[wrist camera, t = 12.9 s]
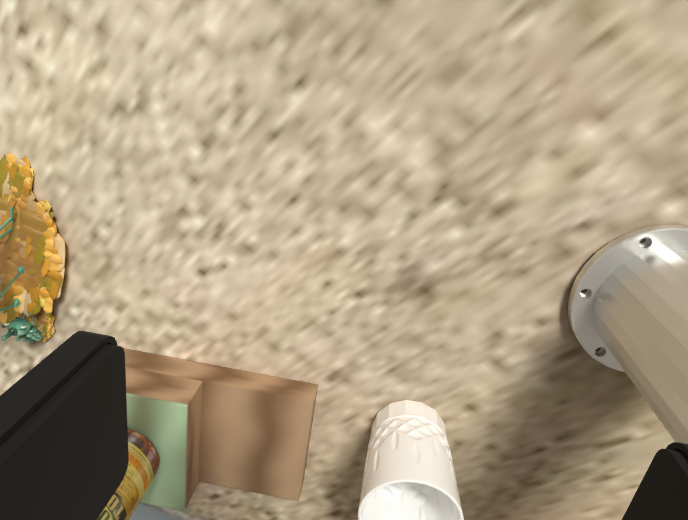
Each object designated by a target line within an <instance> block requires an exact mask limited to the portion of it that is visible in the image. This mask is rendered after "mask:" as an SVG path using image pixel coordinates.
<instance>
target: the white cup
mask: <svg viewBox="0 0 688 520" xmlns="http://www.w3.org/2000/svg"><path fill="white" fill-rule="evenodd" d="M358 520H464V517H463V512H462V507H461V502H460V497H459V491H458V486H457V480H456V475H455V470H454V465H453V461H452V456H451V451H450V448H449V445H448V442H447V438H446V432H445V426H444V422H443V420H442V419H441V418H440V416H439V415H438V413H437V412H436V410H434V409H433V408H431V407H429V406H427V405H426V404H424V403H422V402H417V401H410V400H402V401H398V402H394V403H390V404H388V405H387V406H386V407H384V408H383V409H381V410H380V411H379V412H378V413H377V415H376V417H375V419H374V422H373V424H372V429H371V437H370V441H369V445H368V450H367V457H366V462H365V468H364V475H363V482H362V489H361V496H360V503H359V509H358Z"/></svg>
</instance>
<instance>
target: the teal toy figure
mask: <svg viewBox="0 0 688 520" xmlns="http://www.w3.org/2000/svg"><path fill="white" fill-rule="evenodd" d="M33 175H34V174H33V169H32V168H30V163H29V161H28V159H27V158H26V157H24V160H22V159H16V158H15V156H13V155H12V154H11V153H9V154H8V155H7V156H6V158H5V156H4V157H3V158H2V159H1V160H0V322H1V323H2V324H4V323H5V325H4V326H8V333H7V334H6V335H5V336H3V337H2V338H1V339H2V340H5V339H7V338H8V337H10V336H11V335H13V336H16V335H17V336H19V337H18V338H16V341H18V340H20V339H21V338H22V337H23V338H25V339H24V340H23V342H25V341H26V340H28V339H30V340H28V341H27V342H28V343H29V342H30V341H31V340H33V341H31V343H33V342H34V341H37V342H38V341H42V342H47V341H48V340H49V338H51V337H52V335H53V334H54V333H55V327H54V324H53V321H54V320H55V318H54V316H53V315H52V305H53V301H54V299H55V298H59V297H60V294H61V287H62V282H63V278H64V271H65V268H64V265H65V242H64V240H63V238H62V237H61V235H59V234H58V233H57V228H56V223H55V222H54V221H53V220H52V219H53V217H54V213H53V212H50V213H49V210H50V208H51V206H50V204H49V203H48V202H47V200H46V199H45V200H44V201H43V202H42V201H39V202H36V201H35V198H36V197H35V195H34V194H33V192H32V190H31V189H32V181H33ZM23 313H24V316H25V315H26V316H27V318H24V316H23V318H21V316H22V314H23ZM4 326H3V325H2V327H3V328H6V327H4Z"/></svg>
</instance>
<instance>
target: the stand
mask: <svg viewBox="0 0 688 520" xmlns="http://www.w3.org/2000/svg"><path fill="white" fill-rule="evenodd" d="M123 349H124V348H123ZM124 351H125V369H126V398H127V426H128V428H129V429H130V430H133V431H136V432H138V433H140V434H142V435H143V436H145V437H147V438H148V439H149V441H151V442H152V443H153V445H154V446H155V448H156V450H157V453H158V455H159V459H160V461H159V462H160V463H159V468H158V470H157V473H156V475H155V476H154V478H153V480H152V483H151V485H150V487H149V488H148V490H147V491H146V493H145V495H144V496H143V498H142V499H141V501H140V503H145V504H150V505H155V506H160V507H164V508H169V509H174V510H179V511H185V509H186V506H187V504H188V502H189V500H190V498H191V496H192V494H193V492H194V490H195V488H196V486H197V483H198V481H200V482H205V483H211V484H216V485H221V486H226V487H231V488H236V489H241V490H246V491H251V492H256V493H261V494H266V495H271V496H276V497H281V498H286V499H291V500H296V501H299V498H300V494H301V489H302V485H303V480H304V474H305V467H306V461H307V454H308V448H309V441H310V434H311V428H312V421H313V415H314V408H315V401H316V395H317V388H318V385H316V384H311V383H305V382H300V381H295V380H289V379H284V378H279V377H273V376H268V375H263V374H257V373H252V372H247V371H241V370H236V369H231V368H225V367H220V366H215V365H209V364H204V363H199V362H193V361H188V360H183V359H177V358H172V357H167V356H162V355H156V354H151V353H146V352H140V351H135V350H130V349H124Z"/></svg>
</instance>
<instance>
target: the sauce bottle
mask: <svg viewBox="0 0 688 520" xmlns="http://www.w3.org/2000/svg"><path fill="white" fill-rule="evenodd" d="M128 454H129V462H128V468H127V471H126V474H125V476H124V479H123V481H122V482H121V484H120V485H119V487H118V489H117V490H116V492H115V493H114V495H113V496H112V498H111V499H110V501H109V502H108V504H107V505H106V507H105V508H104V510H103V511H102V513H101V514H100V516H99V517H98V519H97V520H128V519H129V517H130V516H131V515H132V513H133V511H134V510H135V508H136V507H137V505H138V504H139V502H140V501H141V499H142V498H143V496H144V495H145V493H146V491H147V490H148V488H149V487H150V485H151V483H152V480H153V478H154V476H155V475H156V473H157V470H158V468H159V463H160V462H159V461H160V459H159V455H158V453H157V450H156V448H155V446H154V445H153V443H152V442H151V441H149V439H148V438H147V437H145V436H143V435H142V434H140V433H138V432H136V431H133V430H130V429H129V428H128Z"/></svg>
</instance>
